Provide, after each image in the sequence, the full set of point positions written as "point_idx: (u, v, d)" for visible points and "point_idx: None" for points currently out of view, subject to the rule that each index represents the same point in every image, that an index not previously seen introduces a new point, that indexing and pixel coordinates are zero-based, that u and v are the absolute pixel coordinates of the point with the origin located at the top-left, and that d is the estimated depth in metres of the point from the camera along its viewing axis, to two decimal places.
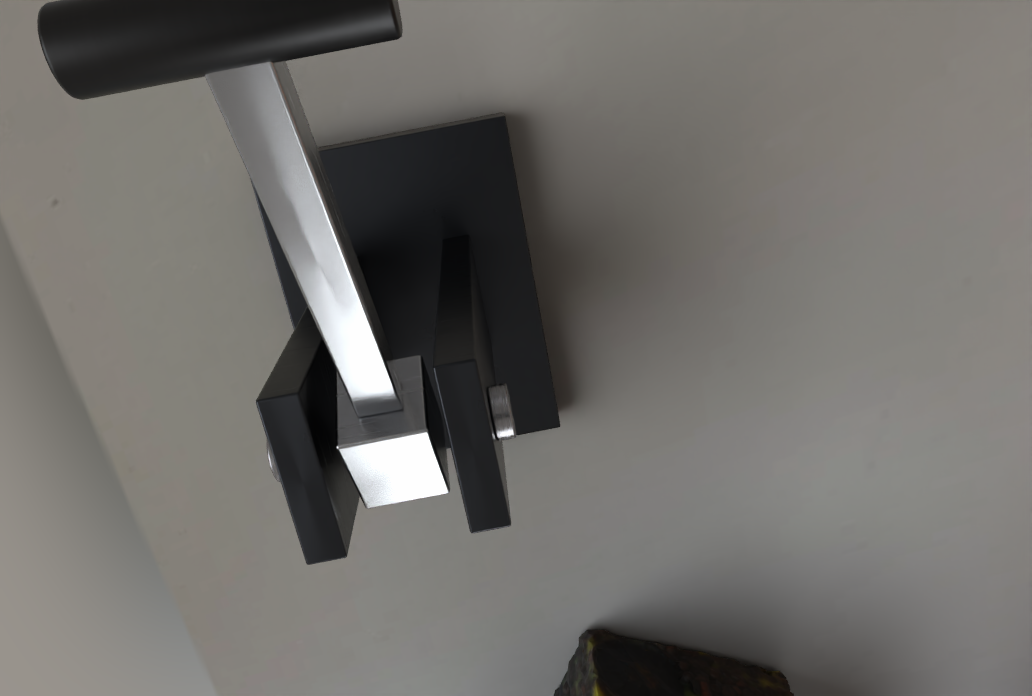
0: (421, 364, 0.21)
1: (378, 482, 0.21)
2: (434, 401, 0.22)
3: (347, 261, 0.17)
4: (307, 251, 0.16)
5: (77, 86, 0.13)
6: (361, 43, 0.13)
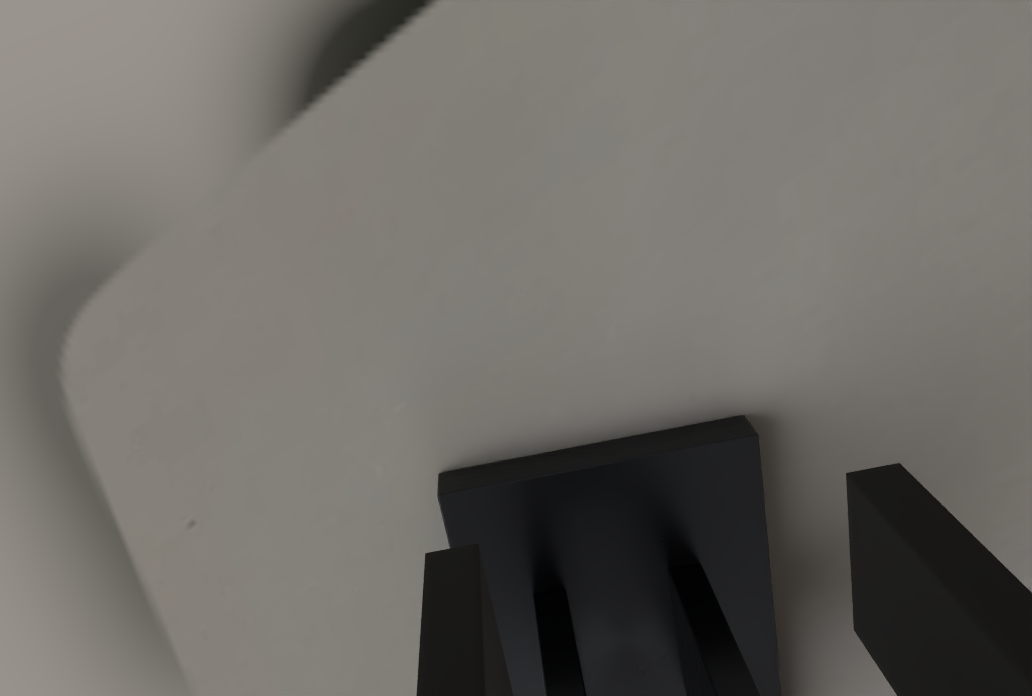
0: None
1: None
2: None
3: None
4: None
5: None
6: None
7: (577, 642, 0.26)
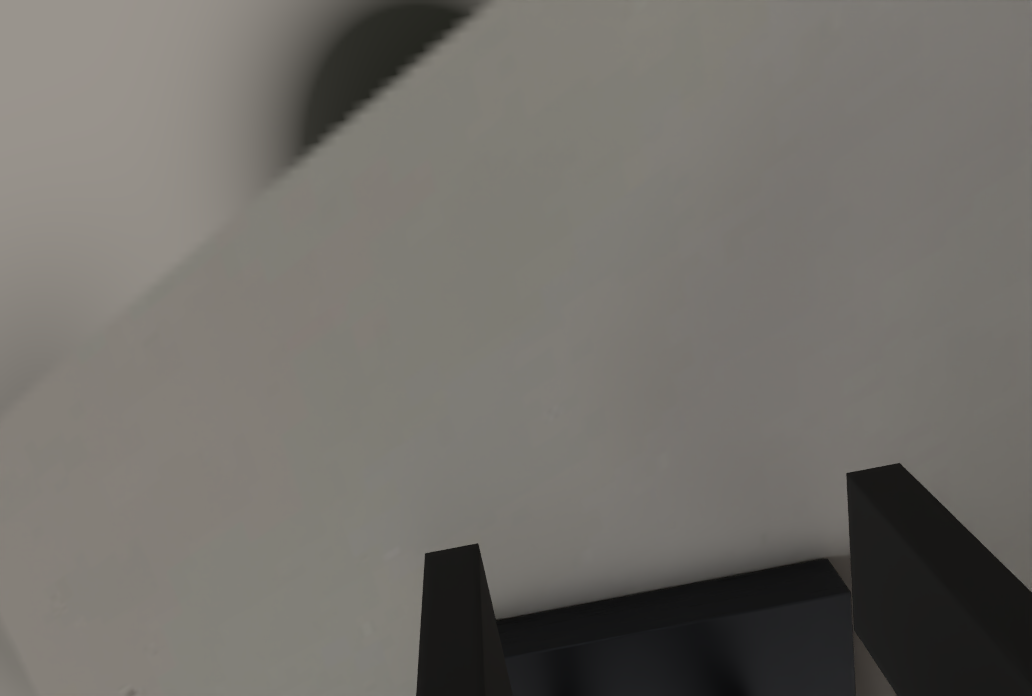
0: None
1: None
2: None
3: None
4: None
5: None
6: None
7: None
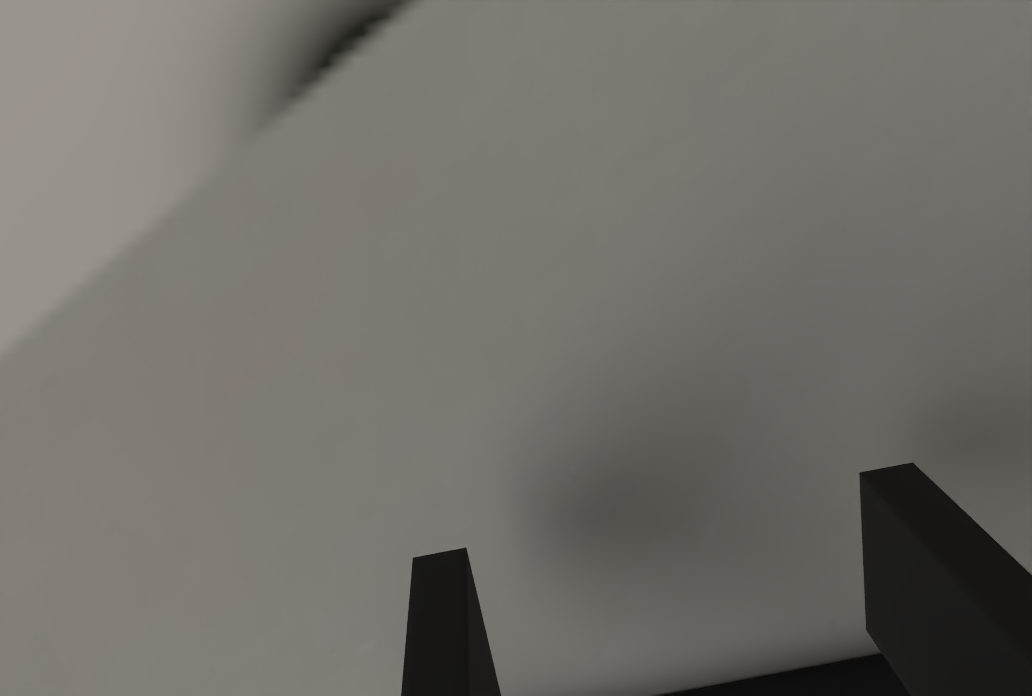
0: None
1: None
2: None
3: None
4: None
5: None
6: None
7: None
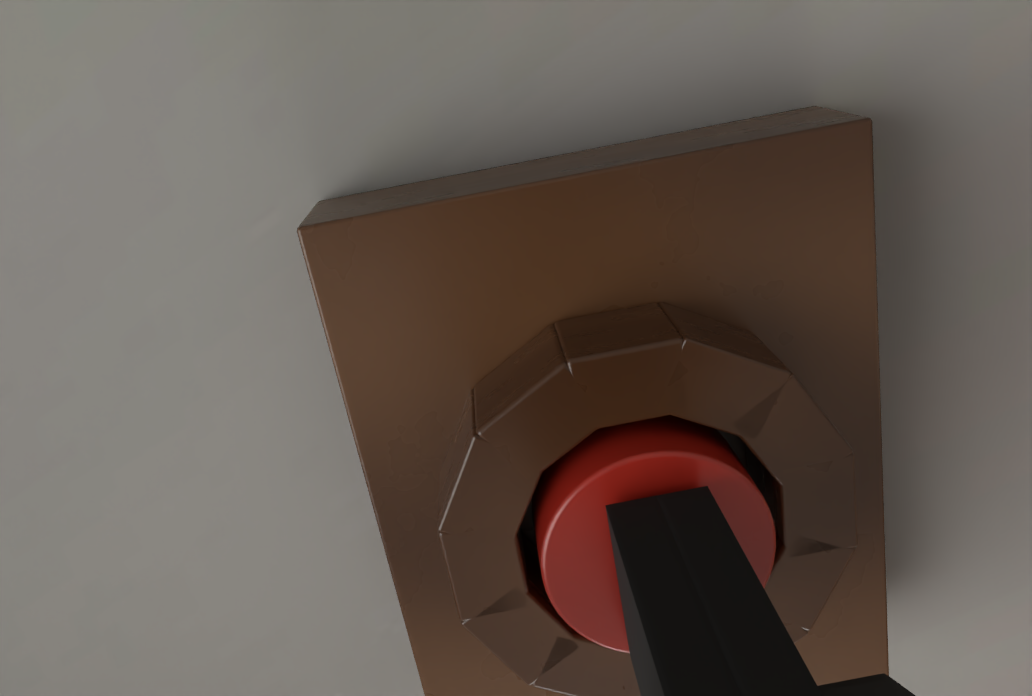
0: None
1: None
2: None
3: None
4: None
5: None
6: None
7: None
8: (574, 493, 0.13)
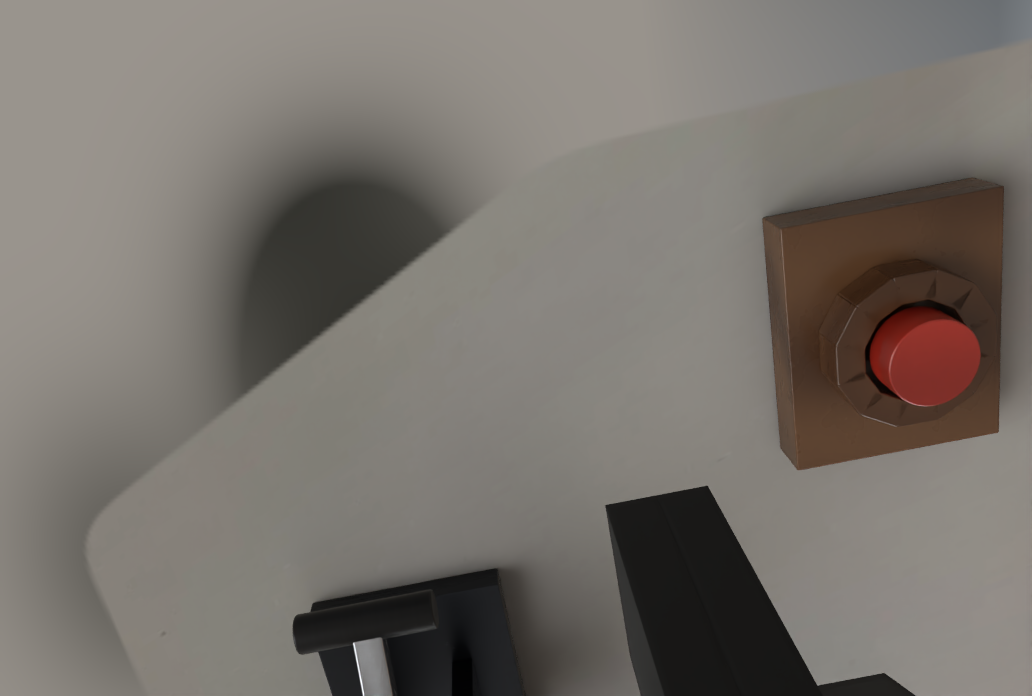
0: None
1: None
2: None
3: None
4: None
5: (301, 645, 0.31)
6: (419, 629, 0.32)
7: None
8: (905, 336, 0.33)
